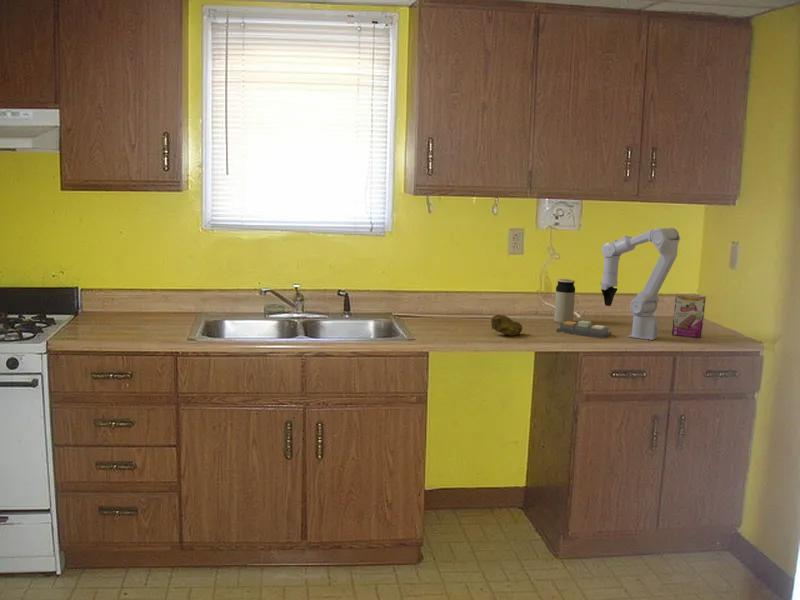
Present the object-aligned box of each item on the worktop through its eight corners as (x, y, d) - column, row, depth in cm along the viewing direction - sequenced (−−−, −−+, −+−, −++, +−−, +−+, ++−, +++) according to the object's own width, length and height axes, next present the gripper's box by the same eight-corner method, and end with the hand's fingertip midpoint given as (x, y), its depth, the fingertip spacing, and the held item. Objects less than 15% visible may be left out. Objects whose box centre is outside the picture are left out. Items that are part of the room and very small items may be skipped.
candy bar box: (671, 335, 328) (675, 294, 325) (673, 333, 332) (676, 293, 330) (701, 338, 323) (705, 297, 321) (702, 336, 328) (706, 295, 325)
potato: (525, 337, 315) (526, 316, 314) (492, 336, 314) (493, 316, 312) (520, 333, 323) (521, 313, 322) (488, 332, 322) (489, 312, 321)
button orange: (576, 327, 330) (576, 322, 330) (572, 328, 327) (572, 323, 326) (566, 325, 332) (567, 321, 332) (563, 327, 329) (563, 322, 329)
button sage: (590, 326, 327) (591, 321, 326) (587, 328, 323) (587, 323, 323) (581, 325, 329) (581, 320, 329) (577, 326, 326) (577, 321, 325)
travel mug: (562, 324, 344) (565, 281, 342) (550, 321, 351) (552, 279, 348) (576, 323, 348) (579, 280, 346) (564, 319, 355) (566, 278, 352)
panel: (611, 334, 326) (611, 327, 325) (603, 338, 317) (603, 330, 317) (565, 328, 336) (566, 321, 335) (556, 332, 327) (556, 324, 327)
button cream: (605, 331, 324) (605, 326, 324) (602, 332, 320) (602, 327, 320) (595, 329, 326) (595, 324, 326) (592, 331, 323) (592, 326, 322)
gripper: (606, 269, 340) (604, 302, 343) (594, 273, 328) (592, 306, 330) (623, 271, 337) (620, 304, 339) (612, 274, 325) (609, 308, 327)
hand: (608, 305), depth 334 cm, fingers closed
